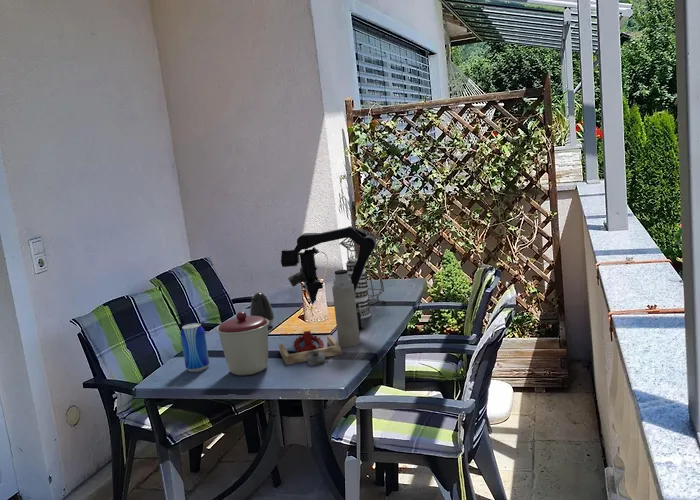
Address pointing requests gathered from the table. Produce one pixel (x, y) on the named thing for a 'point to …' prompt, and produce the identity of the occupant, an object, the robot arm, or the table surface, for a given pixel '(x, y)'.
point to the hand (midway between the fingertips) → (312, 302)
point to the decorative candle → (360, 289)
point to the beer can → (194, 347)
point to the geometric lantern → (367, 262)
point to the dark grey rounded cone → (261, 307)
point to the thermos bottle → (345, 309)
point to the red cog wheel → (308, 342)
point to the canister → (245, 343)
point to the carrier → (312, 353)
